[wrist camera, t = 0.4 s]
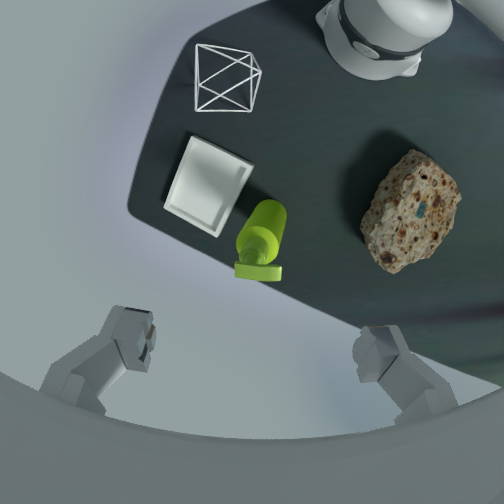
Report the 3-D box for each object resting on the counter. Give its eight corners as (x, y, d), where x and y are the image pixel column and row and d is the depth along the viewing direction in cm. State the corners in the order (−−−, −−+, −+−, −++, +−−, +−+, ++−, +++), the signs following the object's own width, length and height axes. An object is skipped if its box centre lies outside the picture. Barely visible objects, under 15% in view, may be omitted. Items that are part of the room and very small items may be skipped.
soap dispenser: (291, 232, 49) (279, 297, 32) (254, 228, 51) (222, 290, 33) (293, 201, 47) (282, 252, 29) (254, 198, 48) (220, 246, 30)
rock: (397, 137, 39) (432, 145, 30) (443, 180, 42) (476, 196, 34) (339, 234, 47) (361, 263, 38) (391, 264, 50) (416, 292, 41)
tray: (195, 135, 45) (191, 136, 43) (255, 165, 45) (253, 166, 44) (167, 205, 52) (163, 207, 50) (220, 233, 52) (217, 237, 51)
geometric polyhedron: (279, 97, 39) (273, 90, 31) (223, 127, 43) (204, 128, 35) (243, 40, 35) (228, 23, 27) (190, 72, 39) (166, 64, 31)
